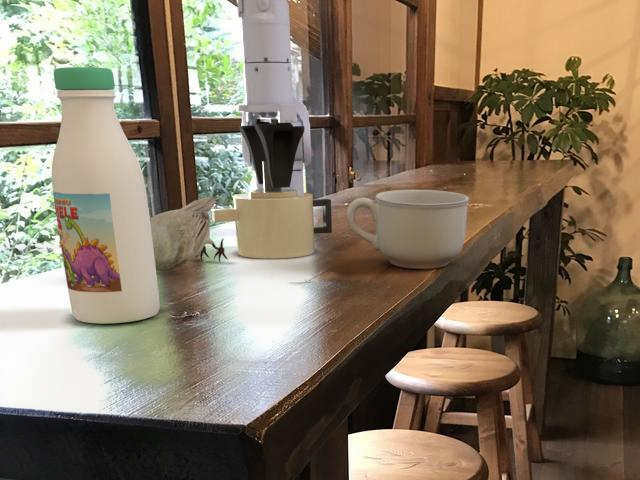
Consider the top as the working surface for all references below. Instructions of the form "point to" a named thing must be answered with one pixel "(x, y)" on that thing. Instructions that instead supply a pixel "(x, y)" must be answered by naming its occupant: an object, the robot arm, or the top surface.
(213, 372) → the top surface
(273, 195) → the kettle
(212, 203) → the decorative bird
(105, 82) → the milk bottle
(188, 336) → the top surface
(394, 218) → the teacup
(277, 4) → the robot arm
